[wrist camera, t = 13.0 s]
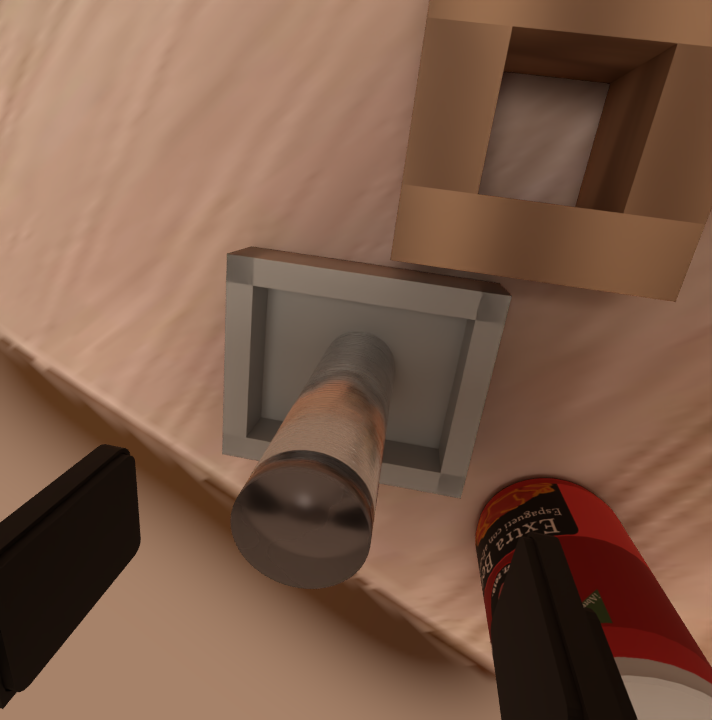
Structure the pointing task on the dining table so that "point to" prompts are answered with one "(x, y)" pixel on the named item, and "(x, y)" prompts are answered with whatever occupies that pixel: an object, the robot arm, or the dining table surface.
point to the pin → (321, 471)
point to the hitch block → (608, 155)
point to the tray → (371, 315)
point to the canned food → (602, 592)
